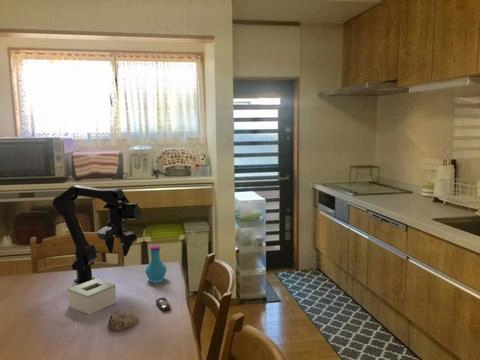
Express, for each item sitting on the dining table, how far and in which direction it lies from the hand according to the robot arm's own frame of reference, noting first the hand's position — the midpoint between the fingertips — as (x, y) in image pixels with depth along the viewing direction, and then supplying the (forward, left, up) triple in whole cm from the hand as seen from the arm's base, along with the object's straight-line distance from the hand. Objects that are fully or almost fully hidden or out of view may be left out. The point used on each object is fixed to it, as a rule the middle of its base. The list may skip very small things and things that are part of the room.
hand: (117, 254), depth 169 cm
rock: (+30, -24, -14) cm, 41 cm away
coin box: (+8, -19, -13) cm, 24 cm away
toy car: (+31, -5, -14) cm, 34 cm away
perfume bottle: (+10, +12, -13) cm, 20 cm away
